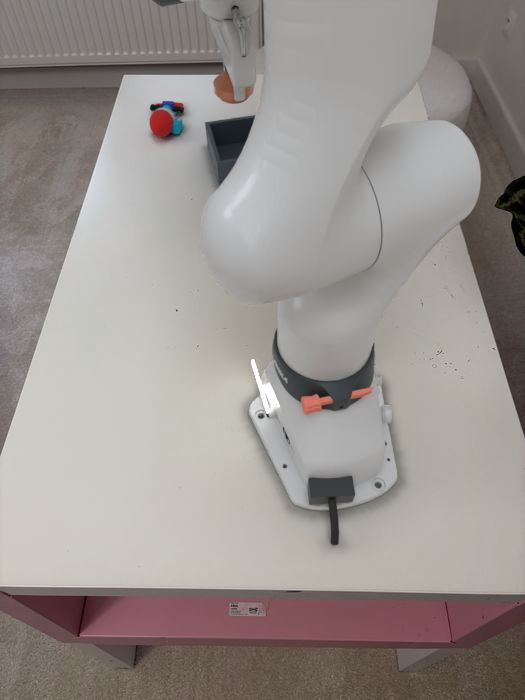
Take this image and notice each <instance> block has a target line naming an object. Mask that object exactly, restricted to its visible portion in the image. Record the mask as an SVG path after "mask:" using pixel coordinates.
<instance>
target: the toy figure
mask: <svg viewBox="0 0 525 700" xmlns="http://www.w3.org/2000/svg"><path fill="white" fill-rule="evenodd" d="M149 110H150V111H151V112H152V113H151V115H150V117H149V128H150V131H151V132H152V134H153V135H155V136H156V137H159V138H164V137H166V136H168V135H169V134H170V133H172V134H173V135H179V134H180V133H181V132H182V130H183V128H184V127H183V126H184V125H183V119H182V118H180V119H179V120H178V118H176V117H177V116H178V114H179V113H181V114H183V113H184V111H185V108H184V103H183V102H180V101H179V102H177V101H173V100H162V102H161V103H155V104H154V103H151V104H150V106H149Z"/></svg>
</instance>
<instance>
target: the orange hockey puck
mask: <svg viewBox="0 0 525 700" xmlns="http://www.w3.org/2000/svg"><path fill="white" fill-rule="evenodd" d="M212 85H213V93H214V94H215V96H216V97H217V98H219V99H220V101H222V102H223V103H225V104H230V105H231V104H232V105H238V104H241V103H242V104H243V103H244V102H246V101H247V100H248V99H249V98H250V96H252V95H253V94H254V91H255V85H254V86H251V87H246V89H245V100H243V101H235V99H234V96H233V85H232V82H231V79H230V77H229V74H228V72H222V73H220V74H218V75H217V76H216V77H215V78H214V79H213V82H212Z"/></svg>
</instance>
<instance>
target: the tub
mask: <svg viewBox="0 0 525 700" xmlns="http://www.w3.org/2000/svg"><path fill="white" fill-rule="evenodd" d="M255 115H256V114H254V115H246V116H238V117H232V118H225V119H217V120H211V121H205V122H204V127H205V128H204V129H205V134H206V135H205V136H206V137H205V138H206V145H207V150H208V153H209V157H210V161H211V164H212V168H213V171H214V174H215V178H216V181H217V185H218V187H219V186H220V185H221V184H222V182H223V181H224V180H225V178H226V177H227V176H228V174H229V173H230V171H231V170H232V168H233V167H234V165H235V163H236V161H237V159H238V158H239V156H240V154H241V152H242V150H243V148H244V145H245V143H246V141H247V138H248V136H249V133H250V130H251V128H252V125H253V122H254V119H255Z"/></svg>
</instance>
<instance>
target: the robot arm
mask: <svg viewBox="0 0 525 700" xmlns="http://www.w3.org/2000/svg"><path fill="white" fill-rule="evenodd" d="M196 1H198V0H152V2H154V3H155V4H156V5H158V6H159V7H161V8H164V7H169V6H175V5H179V4H184V3H185V2H196ZM438 3H439V0H262V4H263V5H262V6H263V43H264V45H263V47H264V48H263V49H264V50H263V51H264V55H263V56H264V57H263V58H264V59H263V62H264V63H263V64H264V66H263V76H262V77H263V78H262V82H261V83H262V85H261V91H260V96H259V101H258V105H257V108H256V112H255V114H254V115H255V119H254V122H253V125H252V128H251V130H250V133H249V136H248V138H247V141H246V143H245V145H244V148H243V150H242V152H241V154H240V156H239V158H238V159H237V161H236V163H235V165H234V167H233V168H232V170H231V171H230V173H229V174H228V176H227V177H226V178H225V180H224V181H223V182H222V184H221V185H220V186H219V185H218V187H217V188H216V189H215V190H214V191H213V193H212V194H211V195H209V197H208V199H207V201H206V203H205V205H204V208H203V211H202V214H201V218H200V222H199V223H200V224H199V234H198V235H199V246H200V252H201V256H202V259H203V262H204V265H205V267H206V269H207V271H208V272H209V274H210V276H211V278H212V279H213V280H214V282H215V284H217V285H218V287H220V288H221V289H222V291H224V292H225V293H226V294H227V295H229V296H230V297H232V298H233V299H234V300H236V301H238V302H240V303H242V304H244V305H247V306H250V307H254V306H259V305H265V304H272V303H277V320H276V321H277V324H276V325H277V326H276V329H275V332H274V335H273V339H272V344H271V345H272V346H271V352H272V353H271V354H272V359H271V361H269V364H268V365H267V366H266V367H265V369H264V370H263V372H262V374H261V378H260V376H259V372H258V368H257V365H256V362H255V359H251V366H252V370H253V373H254V375H255V379H256V383H257V386H258V389H259V395H258V396H257V397H256V398H255V399H254V400H253V401H252V402H251V403H250V406H249V408H248V414H249V415H248V416H249V417H250V419H251V421H252V423H253V426H254V428H255V430H256V431H257V434H258V436H259V438H260V440H261V442H262V444H263V446H264V449H265V451H266V452H267V454H268V456H269V458H270V460H271V462H272V465H273V467H274V469H275V471H276V472H277V475H278V477H279V479H280V481H281V483H282V486H283V488H284V490H285V492H286V493H287V495H288V497H289V499H290V501H291V503H292V504H293V505H294V506H297V507H299V508H302V509H305V510H310V511H320V512H321V511H328V512H329V520H330V521H329V522H330V544H331V545H332V546H338V545H339V540H340V526H339V515H338V510H342V509H347V508H352V507H355V506H359V505H363V504H365V503H369V502H371V501H373V500H376V499H378V498H379V497H381V496H383V495H384V494H386V493H387V492H388V491H389V490H390V489H391V488H392V487H393V486H394V485H395V484H396V482H397V481H398V476H399V475H398V468H397V463H396V458H395V452H394V448H393V442H392V437H391V431H390V426H389V424H391V423H393V421H394V412H393V411H394V410H393V408H392V405H390V404H386V403H385V399H384V393H383V389H382V386H383V382H384V381H383V376H382V375H381V374H377V375H376V370H375V366H376V350H375V339H376V337H377V333H378V330H379V328H380V325H381V322H382V319H383V317H384V315H385V313H386V311H387V309H388V308H389V306H391V303H392V302H393V300H394V299H395V298H396V296H398V294H399V292H400V291H401V289H402V288H403V287H404V286H405V284H406V283H407V282H408V281H409V279H410V278H411V276H412V275H413V273H414V272H415V271H416V269H417V268H418V267H419V266H420V264H421V263H422V262H423V261H424V259H425V258H426V257H427V256H428V254H429V253H430V252H431V251H432V250H433V249H434V248H435V246H437V244H438V243H439V242H440V241H442V239H444V237H446V236H447V235H448V233H450V232H451V231H452V230H453V229H454V228H455V227H457V226H458V225H459V224H460V223H461V222H462V221H464V220H465V219H466V218H467V217H468V216H469V215H470V214H471V213H472V211H473V210H474V208H475V206H476V204H477V202H478V200H479V196H480V191H481V184H482V172H481V165H480V164H481V163H480V160H479V158H478V157H479V156H478V154H477V151H476V149H475V147H474V144H473V143H472V142H471V140H470V138H469V137H468V136H467V135H466V133H465V132H464V131H463V130H462V129H460V128H459V127H458V126H457V125H455V124H454V123H452V122H450V121H448V120H445V119H444V120H443V119H427V120H414V121H404V122H394V123H393V122H392V123H390V124H387V125H384V126H382V125H383V124H384V122H385V121H386V120H387V118H388V117H389V116H390V114H391V113H393V111H394V110H395V109H396V108H397V107H398V106H399V104H400V103H402V102H403V100H405V98H406V97H407V96H408V95H409V93H410V92H411V91H412V90H413V89H414V88H415V86H416V85H417V83H418V82H419V80H420V79H421V78H422V75H423V74H424V72H425V70H426V67H427V64H428V62H429V59H430V56H431V54H432V46H433V41H434V40H433V39H434V32H435V25H436V17H437V11H438ZM259 7H260V0H199V8H200V10H201V11H202V13H204V14H205V15H207V16H208V21H209V25H210V29H211V32H212V34H213V37H214V39H215V42H216V45H217V48H218V51H219V53H220V55H221V61H222V66H223V73H225V72H228V74H229V77H230V79H231V82H232V85H233V96H234V99H235V101H243V100H245V89H246V87H251V86H254V87H255V86H256V82H257V62H256V47H255V37H254V33H253V29H252V27H251V25H250V23H249V22H250V21H251V19H252V14H254V13H255V12H256V11H257V10H258V9H259ZM260 417H263V418H260ZM376 485H379V487H376Z"/></svg>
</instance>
